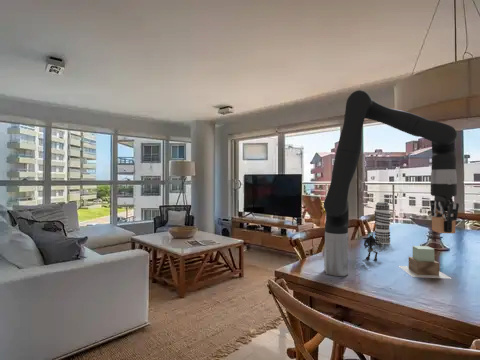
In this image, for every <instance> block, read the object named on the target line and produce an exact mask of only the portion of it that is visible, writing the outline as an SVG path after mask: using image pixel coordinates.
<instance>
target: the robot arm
mask: <svg viewBox="0 0 480 360" xmlns="http://www.w3.org/2000/svg"><path fill="white" fill-rule="evenodd" d="M346 99H347V100H346V103H345V111H344V117H343V118H344V120H343V125H342V128H341V131H340V135H339V140H338V144H337V146H336V147H337V148H336V151H335V155H334V160H333V167H332V172H331V180H330V183H329V187H328V191H327V194H326V196H325V198H324V202H323V208H324V209H323V210H324V212H325V222H324V223H325V224H324V248H323V262H324V263H323V268H324V269H323V270H324V273H325V275H329V276H333V277H334V276H335V277H345V276H348V275H349V219H350V218H349V216H350V215H349V210H350V209H349V207H350V206H349V201H348V196H349V189H350V185H351V182H352V180H353V177H354V175H355V172H356V170H357V167H358V164H359V160H360V157H361V152H362V141H363V140H362V139H363V136H362V135H363V133H362V132H363V126H364V122H365V119H367V120H372V121H375V122H379V123H380V124H381V123H382V124H384V125H386V126H389V127H391V128H393V129H396V130H398V131H401V132H403V133H406V134H408V135H410V136H415V137H420V138H423V139H424V140H428V141H429V142H431V151H432V157H431V170H430V171H431V172H430V196H432V197H434V199H433V200H432V199H431V200H430V201H429V204H430V214H431V217H443V218H444V232H452V221H453V220H456V221H457V219H458V213H459V207H460V205H459V202H454V200H453V197H457V195H458V193H457V192H458V190H457V189H458V183H457V182H458V181H457V180H458V179H457V178H458V177H457V157H456V154H455V150H456V149H455V147H456V146H455V145H456V144H455V143H456V139H457V135H458V134H457V130H456V129H455V127H453V126H452V125H450V124H446V123H443V122H439V121H435V120H432V119H429V118H426V117H423V116H420V115H418V114H415V113H412V112H409V111H405V110H400V109H395V108H390V107H388V106H384V105H382V104H380V103H378V102H376V101H375V100H373V99H372V97H371V96H370V95H369V93H368V92H367V91H365V90H361V89H359V90H354V91H353V92H352V93H351V94H349V96H348V97H347V98H346Z"/></svg>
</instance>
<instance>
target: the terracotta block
mask: <svg viewBox="0 0 480 360" xmlns="http://www.w3.org/2000/svg"><path fill="white" fill-rule="evenodd" d="M456 221H457V220H453V221H452V232H444V218H443V217H434V216H431V231H433V232H436V233H439V234H456Z"/></svg>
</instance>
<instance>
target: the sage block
mask: <svg viewBox="0 0 480 360" xmlns="http://www.w3.org/2000/svg"><path fill="white" fill-rule="evenodd" d="M412 257H413V258H414V259H415V260H417V261H427V262H434V260H435V248H433V247H430V246H428V245H427V246H424V245H412Z"/></svg>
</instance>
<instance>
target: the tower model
mask: <svg viewBox="0 0 480 360" xmlns="http://www.w3.org/2000/svg"><path fill="white" fill-rule="evenodd" d="M373 215H374V216H373V217H374V224H375V228H374V229H375V230H374V238H375V239H377V240H380V241H376V242H380V243H381V244H382V245H384V244H387V245H391V232H390V230H391V229H390V225H391V214H390V204H389V203H388V202H386V201H385V202H384V201H377V203H376V204H375V210H374V213H373Z"/></svg>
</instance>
